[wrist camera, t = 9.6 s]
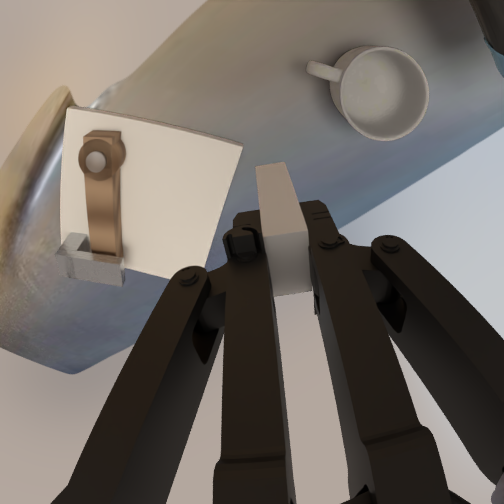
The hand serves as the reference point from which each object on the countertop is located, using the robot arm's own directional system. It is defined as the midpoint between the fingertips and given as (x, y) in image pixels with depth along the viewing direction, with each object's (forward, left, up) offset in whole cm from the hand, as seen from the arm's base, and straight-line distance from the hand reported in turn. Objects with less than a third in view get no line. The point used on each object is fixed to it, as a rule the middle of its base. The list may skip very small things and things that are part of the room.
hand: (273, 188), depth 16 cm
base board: (+17, -12, -24) cm, 32 cm away
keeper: (+26, -17, -24) cm, 39 cm away
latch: (+17, -16, -23) cm, 33 cm away
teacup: (-8, +10, -25) cm, 28 cm away
